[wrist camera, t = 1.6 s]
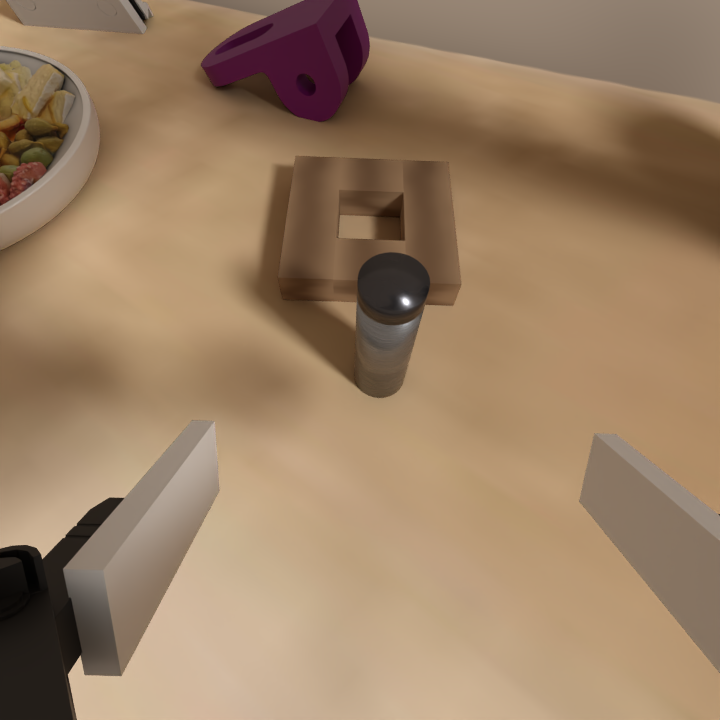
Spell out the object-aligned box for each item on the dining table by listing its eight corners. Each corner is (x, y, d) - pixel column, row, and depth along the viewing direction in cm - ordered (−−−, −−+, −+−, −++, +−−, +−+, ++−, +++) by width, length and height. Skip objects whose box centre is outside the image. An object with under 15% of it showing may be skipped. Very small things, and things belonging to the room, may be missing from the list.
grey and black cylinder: (403, 353, 35) (428, 253, 24) (404, 398, 33) (432, 311, 22) (355, 351, 35) (358, 250, 24) (353, 396, 33) (356, 308, 22)
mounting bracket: (232, 144, 56) (352, 113, 47) (187, 75, 49) (315, 23, 40) (264, 103, 60) (379, 67, 51) (226, 35, 54) (350, -21, 44)
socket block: (442, 187, 44) (448, 162, 42) (453, 305, 37) (461, 284, 35) (298, 181, 44) (295, 155, 41) (282, 299, 37) (277, 277, 34)
